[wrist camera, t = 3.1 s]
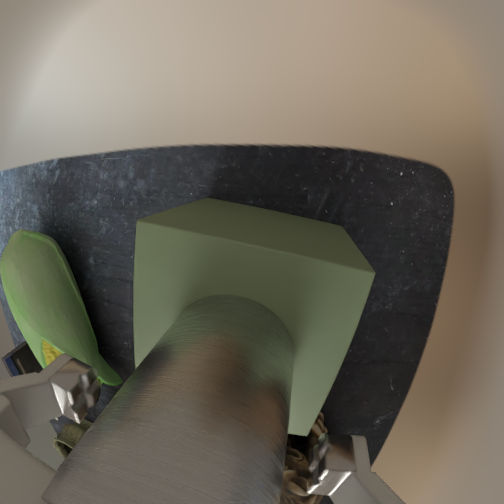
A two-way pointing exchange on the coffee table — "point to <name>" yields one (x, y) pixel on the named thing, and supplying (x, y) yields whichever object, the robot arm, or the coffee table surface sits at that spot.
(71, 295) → the corn
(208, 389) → the tin
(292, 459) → the figurine
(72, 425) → the vessel
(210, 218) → the riser
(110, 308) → the coffee table surface
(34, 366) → the mini dv tape
